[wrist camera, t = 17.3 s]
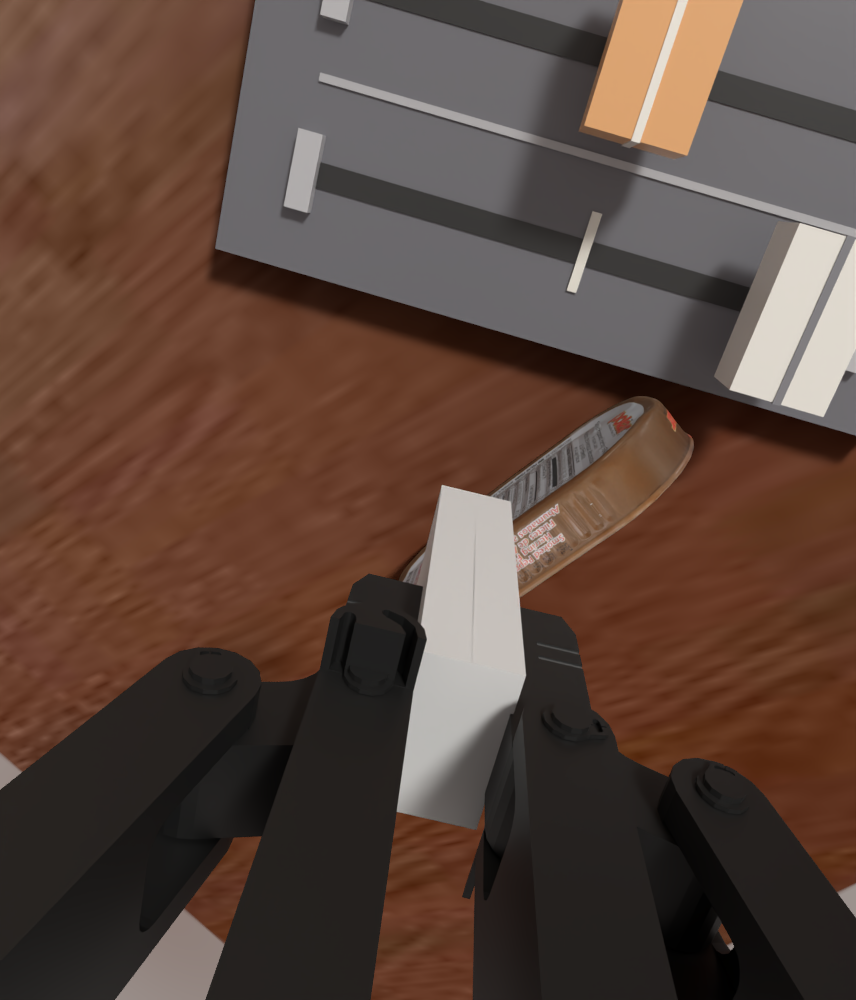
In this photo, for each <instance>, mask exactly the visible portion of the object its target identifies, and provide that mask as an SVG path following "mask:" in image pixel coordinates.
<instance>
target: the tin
mask: <svg viewBox="0 0 856 1000" xmlns="http://www.w3.org/2000/svg"><path fill="white" fill-rule="evenodd" d="M693 449H694V441H693V439H692V437H691V436H690V435H689V434H687V433H685V432H684V431H683V430H682V429H681V427H680V426H679V425H678V424H677V422H676V421H675V420H674V418H673V417H672V416H671V414H670V413H669V412H668V410H667V409H666V408H665V407H664V405H663V404H662V403H661V402H660V401H658V400H657V399H654V398H650V397H646V396H636V397H633V398H630V399H627V400H625V401H622V402H620V403H618V404H616V405H614V406H612V407H610V408H608V409H607V410H605V411H603V412H601V413H600V414H598V415H596V416H595V417H593V418H592V419H590V420H589V421H587V422H586V423H584V424H583V425H582V426H580V427H579V428H577V429H576V430H575V431H573V432H572V433H571V434H569V435H568V436H567V437H565V438H564V439H563V440H561V441H560V442H559V443H557V444H556V445H554V446H553V447H552V448H550V449H549V450H547V451H546V452H545V453H543V454H542V455H541V456H539V457H538V458H537V459H535V460H534V461H532V462H531V463H530V464H528V465H527V466H526V467H524V468H523V469H521V470H520V471H519V472H517V473H516V474H515V475H513V476H512V477H511V478H509V479H508V480H507V481H505V482H504V483H503V484H501V485H500V486H499V487H498V488H496V489H495V490H494V491H492V492H491V493H490V494H488V495H487V496H490V497H494V498H498V499H502V500H506V501H511V509H512V521H513V532H514V544H515V555H516V567H517V578H518V590H519V598H520V597H522V596H523V595H525V594H526V593H528V592H529V591H531V590H532V589H534V588H535V587H536V586H538V585H539V584H540V583H542V582H543V581H545V580H546V579H548V578H549V577H551V576H552V575H554V574H555V573H557V572H558V571H560V570H561V569H563V568H564V567H565V566H567V565H568V564H570V563H571V562H573V561H574V560H576V559H577V558H579V557H580V556H582V555H583V554H585V553H586V552H587V551H589V550H590V549H591V548H593V547H594V546H596V545H597V544H599V543H601V542H602V541H603V540H605V539H606V538H608V537H610V536H611V535H612V534H614V533H615V532H617V531H618V530H619V529H621V528H622V527H624V526H625V525H627V524H628V523H629V522H631V521H632V520H633V519H635V518H636V517H637V516H638V515H639V514H641V513H642V512H643V511H644V510H645V509H646V508H647V507H649V506H650V505H651V504H652V503H653V502H654V501H656V500H657V499H658V498H659V497H660V496H661V495H662V493H663V492H664V491H665V490H666V489H667V488H668V487H669V486H670V485H671V484H672V483H673V482H674V481H675V480H676V478H677V477H678V476H679V475H680V473H681V472H682V471H683V469H684V468H685V466H686V465H687V463H688V461H689V460H690V458H691V456H692V452H693ZM426 546H427V545H426ZM426 546H425V547H424V548H423V549H422V550H421V551H420V552H419V553H418V554H417V555H416V556H415V557H414V559H413V560H412V561H411V562H410V563H409V564H408V565H407V567H406V568H405V569H404V571H403V572H402V574H401V576H400V578H399V580H398V581H402V582H406V583H410V584H415V585H417V582H418V578H419V574H420V570H421V566H422V562H423V558H424V554H425V550H426Z"/></svg>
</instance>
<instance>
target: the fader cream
mask: <svg viewBox="0 0 856 1000" xmlns="http://www.w3.org/2000/svg"><path fill="white" fill-rule="evenodd" d="M855 350H856V237H853V236H849V235H842V234H836V233H833V232H829V231H826V230H823V229H819V228H816V227H812V226H809V225H806V224H802V223H795V222H780V221H778V222H777V225H776V227H775V230H774V232H773V234H772V237H771V239H770V242H769V244H768V246H767V249H766V251H765V254H764V256H763V259H762V261H761V263H760V266H759V268H758V271H757V273H756V276H755V278H754V280H753V283H752V285H751V288H750V290H749V293H748V295H747V297H746V300H745V302H744V305H743V307H742V310H741V312H740V314H739V317H738V319H737V322H736V324H735V326H734V329H733V331H732V334H731V336H730V339H729V341H728V343H727V346H726V348H725V351H724V353H723V356H722V358H721V360H720V363H719V365H718V368H717V370H716V373H715V375H714V377H715V378H716V379H717V380H719V381H720V382H721V383H722V384H723V385H724V386H726V387H727V388H728V389H729V390H732V391H735V392H739V393H742V394H746V395H749V396H752V397H756V398H759V399H763V400H766V401H769V402H770V403H772V404H774V405H778V406H780V405H783V406H787V407H790V408H794V409H797V410H800V411H804V412H807V413H811V414H814V415H818V416H821V417H824V415H825V413H826V411H827V409H828V406H829V404H830V402H831V400H832V398H833V396H834V394H835V392H836V390H837V387H838V385H839V383H840V381H841V379H842V377H843V375H844V373H845V371H846V369H847V366H848V364H849V362H850V360H851V358H852V356H853V354H854V352H855Z"/></svg>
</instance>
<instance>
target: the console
mask: <svg viewBox="0 0 856 1000" xmlns="http://www.w3.org/2000/svg"><path fill="white" fill-rule="evenodd" d="M618 3H619V0H255V6H254V12H253V18H252V24H251V31H250V37H249V43H248V49H247V55H246V61H245V68H244V74H243V80H242V86H241V92H240V98H239V104H238V111H237V117H236V123H235V129H234V135H233V141H232V148H231V154H230V160H229V166H228V172H227V178H226V185H225V191H224V197H223V203H222V209H221V215H220V222H219V228H218V234H217V240H216V246H215V249H218V250H222V251H225V252H228V253H232V254H235V255H239V256H242V257H246V258H249V259H252V260H256V261H259V262H263V263H266V264H270V265H273V266H276V267H280V268H283V269H287V270H290V271H294V272H297V273H300V274H304V275H307V276H311V277H314V278H318V279H321V280H324V281H328V282H331V283H335V284H338V285H342V286H345V287H348V288H352V289H355V290H359V291H362V292H366V293H369V294H372V295H376V296H379V297H383V298H386V299H390V300H393V301H396V302H400V303H403V304H407V305H410V306H414V307H417V308H420V309H424V310H427V311H431V312H434V313H438V314H441V315H444V316H448V317H451V318H455V319H458V320H462V321H465V322H468V323H472V324H475V325H479V326H482V327H486V328H489V329H492V330H496V331H499V332H503V333H506V334H510V335H513V336H516V337H520V338H523V339H527V340H530V341H534V342H537V343H540V344H544V345H547V346H551V347H554V348H558V349H561V350H564V351H568V352H571V353H575V354H578V355H581V356H585V357H588V358H592V359H595V360H599V361H602V362H605V363H609V364H612V365H616V366H619V367H623V368H626V369H629V370H633V371H636V372H640V373H643V374H647V375H650V376H653V377H657V378H660V379H664V380H667V381H671V382H674V383H677V384H681V385H684V386H688V387H691V388H695V389H698V390H701V391H705V392H708V393H712V394H715V395H719V396H722V397H725V398H729V399H732V400H736V401H739V402H743V403H746V404H749V405H753V406H756V407H760V408H763V409H767V410H770V411H773V412H777V413H780V414H784V415H787V416H791V417H794V418H797V419H801V420H804V421H808V422H811V423H815V424H818V425H821V426H825V427H828V428H832V429H835V430H839V431H842V432H845V433H849V434H852V435H856V350H855V352H854V354H853V356H852V358H851V360H850V362H849V364H848V366H847V369H846V371H845V373H844V375H843V377H842V379H841V381H840V383H839V385H838V387H837V390H836V392H835V394H834V396H833V398H832V400H831V402H830V404H829V406H828V409H827V411H826V413H825V415H824V417H821V416H818V415H814V414H811V413H807V412H804V411H800V410H797V409H794V408H790V407H787V406H783V405H780V406H778V405H774V404H772V403H770V402H769V401H766V400H763V399H759V398H756V397H752V396H749V395H746V394H742V393H739V392H735V391H732V390H729V389H728V388H727V387H726V386H724V385H723V384H722V383H721V382H720V381H719V380H717V379H716V378H715V377H714V375H715V373H716V370H717V368H718V365H719V363H720V360H721V358H722V356H723V353H724V351H725V348H726V346H727V343H728V341H729V339H730V336H731V334H732V331H733V329H734V326H735V324H736V322H737V319H738V317H739V314H740V312H741V310H742V307H743V305H744V302H745V300H746V297H747V295H748V293H749V290H750V288H751V285H752V283H753V280H754V278H755V276H756V273H757V271H758V268H759V266H760V263H761V261H762V259H763V256H764V254H765V251H766V249H767V246H768V244H769V242H770V239H771V237H772V234H773V232H774V230H775V227H776V225H777V222H778V221H780V222H795V223H802V224H806V225H809V226H812V227H816V228H819V229H823V230H826V231H829V232H833V233H836V234H842V235H849V236H853V237H856V0H743V3H742V6H741V8H740V11H739V14H738V17H737V19H736V22H735V25H734V28H733V30H732V33H731V36H730V39H729V42H728V44H727V47H726V50H725V53H724V55H723V58H722V61H721V64H720V66H719V69H718V72H717V75H716V78H715V80H714V83H713V86H712V89H711V91H710V94H709V97H708V100H707V102H706V105H705V108H704V111H703V113H702V116H701V119H700V122H699V125H698V127H697V130H696V133H695V136H694V138H693V141H692V144H691V147H690V149H689V152H688V155H687V156H684V157H680V158H677V159H671V158H667V157H664V156H661V155H657V154H654V153H650V152H647V151H643V150H640V149H637V148H633V147H631V148H627V147H624V146H622V144H620V143H616V142H613V141H609V140H606V139H602V138H599V137H596V136H592V135H589V134H585V133H582V132H579V128H580V125H581V122H582V119H583V116H584V112H585V109H586V106H587V103H588V99H589V96H590V93H591V90H592V87H593V83H594V80H595V77H596V74H597V70H598V67H599V64H600V61H601V58H602V54H603V51H604V48H605V45H606V42H607V38H608V35H609V32H610V29H611V25H612V22H613V19H614V16H615V13H616V9H617V6H618Z"/></svg>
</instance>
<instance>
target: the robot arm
mask: <svg viewBox="0 0 856 1000" xmlns="http://www.w3.org/2000/svg"><path fill="white" fill-rule="evenodd" d="M581 668H582V663H581V658H580V655H579V649H578V644H577V639H576V635H575V633H574V632H573V631H572V630H571V628H570V627H569V626H568V625H567V624H566V622H565V621H564V620H563V619H562V617H559V616H555V615H550V614H546V613H542V612H538V611H533V610H529V609H525V608H521V607H520V601H519V590H518V578H517V567H516V555H515V544H514V532H513V521H512V509H511V501H506V500H502V499H498V498H494V497H490V496H485V495H481V494H477V493H473V492H469V491H465V490H460V489H456V488H452V487H448V486H444V485H442V487H441V491H440V495H439V499H438V503H437V507H436V511H435V515H434V519H433V523H432V527H431V531H430V535H429V539H428V543H427V546H426V550H425V554H424V558H423V562H422V566H421V570H420V574H419V578H418V582H417V585H415V584H410V583H406V582H402V581H398V580H393V579H389V578H385V577H381V576H377V575H372V574H368V575H366V576H365V577H363V578H362V579H360V580H359V581H357V582H356V583H354V584H353V586H352V589H351V592H350V595H349V598H348V601H347V604H346V606H343V607H341V608H338V609H337V610H336V611H335V613H334V614H333V615H332V616H331V619H330V623H329V628H328V633H327V638H326V642H325V647H324V652H323V657H322V661H321V666H320V670H319V671H318V672H317V673H315V674H313V675H311V676H309V677H307V678H304V679H300V680H295V681H288V682H261V678H260V672H259V670H258V669H257V668H256V667H255V666H254V664H253V663H252V662H251V661H250V660H248V659H246V658H244V657H243V656H241V655H239V654H237V653H235V652H231V651H227V650H223V649H219V648H193V649H188V650H183V651H179V652H178V653H176V654H174V655H172V656H170V657H168V658H166V659H165V660H163V661H162V662H161V663H160V664H158V665H157V666H156V667H155V668H153V669H152V670H151V671H149V672H148V673H147V674H146V675H144V676H143V677H142V678H141V679H139V680H138V681H137V682H136V683H134V684H133V685H132V686H131V687H129V688H128V689H127V690H126V691H124V692H123V693H122V694H120V695H119V696H118V697H117V698H115V699H114V700H113V701H112V702H110V703H109V704H108V705H107V706H105V707H104V708H103V709H102V710H100V711H99V712H98V713H97V714H95V715H94V716H93V717H91V718H90V719H89V720H88V721H86V722H85V723H84V724H83V725H81V726H80V727H79V728H78V729H76V730H75V731H74V732H73V733H71V734H70V735H69V736H68V737H66V738H65V739H64V740H62V741H61V742H60V743H59V744H57V745H56V746H55V747H54V748H52V749H51V750H50V751H49V752H47V753H46V754H45V755H44V756H42V757H41V758H40V759H39V760H37V761H36V762H35V763H33V764H32V765H31V766H30V767H28V768H27V769H26V770H25V771H23V772H22V773H21V774H20V775H18V776H17V777H16V778H15V779H13V780H12V781H11V782H10V783H8V784H7V785H6V786H4V787H3V788H2V789H1V790H0V1000H115V999H116V998H117V996H118V995H119V993H120V992H121V991H122V990H123V988H124V987H125V986H126V984H127V983H128V982H129V980H130V979H131V978H132V976H133V975H134V974H135V972H136V971H137V970H138V968H139V967H140V966H141V965H142V963H143V962H144V961H145V959H146V958H147V957H148V955H149V954H150V953H151V951H152V950H153V949H154V947H155V946H156V945H157V943H158V942H159V941H160V939H161V938H162V937H163V935H164V934H165V933H166V932H167V930H168V929H169V928H170V926H171V925H172V923H173V922H174V921H175V920H176V918H177V917H178V916H179V914H180V913H181V912H182V910H183V909H184V908H185V906H186V905H187V904H188V902H189V901H190V900H191V898H192V897H193V896H194V894H195V893H196V892H197V891H198V889H199V888H200V887H201V885H202V884H203V883H204V881H205V880H206V879H207V877H208V876H209V875H210V873H211V872H212V871H213V869H214V868H215V867H216V865H217V864H218V863H219V861H220V860H221V859H222V857H223V856H224V855H225V853H226V852H227V851H228V849H229V847H230V844H231V842H232V840H233V838H234V837H253V836H262V838H261V841H260V843H259V846H258V849H257V852H256V855H255V858H254V861H253V864H252V867H251V869H250V872H249V875H248V878H247V881H246V884H245V887H244V890H243V893H242V896H241V898H240V901H239V904H238V907H237V910H236V913H235V916H234V919H233V922H232V924H231V927H230V930H229V933H228V936H227V939H226V942H225V945H224V948H223V951H222V954H221V956H220V959H219V962H218V965H217V968H216V971H215V974H214V977H213V979H212V982H211V985H210V988H209V991H208V994H207V997H206V1000H370V999H371V992H372V985H373V978H374V970H375V963H376V956H377V949H378V942H379V935H380V927H381V920H382V913H383V906H384V899H385V892H386V884H387V877H388V870H389V863H390V856H391V849H392V842H393V834H394V827H395V820H396V813H397V812H401V813H405V814H410V815H414V816H418V817H423V818H427V819H431V820H436V821H440V822H444V823H449V824H453V825H457V826H462V827H466V828H470V829H475V830H476V829H477V826H478V823H479V819H480V816H481V813H482V810H483V807H484V804H485V828H484V831H483V834H482V837H481V840H480V843H479V846H478V849H477V852H476V855H475V858H474V861H473V864H472V867H471V870H470V873H469V876H468V879H467V882H466V886H465V889H464V893H463V896H462V897H464V898H468V899H470V897H471V894H472V891H473V888H474V886H475V905H474V962H473V1000H856V918H855V916H854V915H853V914H852V912H851V911H850V910H849V908H848V907H847V906H846V904H845V903H844V901H843V900H842V899H841V898H840V896H839V895H838V893H837V892H836V891H835V889H834V888H833V887H832V885H831V884H830V883H829V881H828V880H827V879H826V877H825V876H824V875H823V873H822V872H821V871H820V869H819V868H818V866H817V865H816V864H815V862H814V861H813V860H812V858H811V857H810V856H809V854H808V853H807V852H806V850H805V849H804V848H803V846H802V845H801V844H800V842H799V841H798V840H797V838H796V837H795V836H794V834H793V833H792V832H791V830H790V829H789V828H788V826H787V825H786V824H785V822H784V821H783V819H782V818H781V817H780V815H779V814H778V813H777V811H776V810H775V809H774V807H773V806H772V805H771V803H770V802H769V801H768V799H767V798H766V797H765V795H764V794H763V793H762V792H761V791H760V790H759V789H758V788H757V787H756V786H755V785H754V784H753V783H752V782H751V781H749V780H748V779H746V778H745V777H744V776H742V775H741V774H739V773H738V772H737V771H735V770H734V769H732V768H730V767H728V766H724V765H723V764H720V763H717V762H714V761H709V760H705V759H700V758H692V759H683V760H681V761H680V762H678V763H677V764H675V765H674V766H673V768H672V770H671V773H670V775H669V777H667V776H665V775H663V774H660V773H658V772H656V771H654V770H651V769H649V768H647V767H645V766H643V765H640V764H638V763H637V762H635V761H633V760H631V759H629V758H627V757H625V756H624V755H623V754H621V753H620V752H618V747H617V743H616V739H615V736H614V734H613V732H612V730H611V728H610V726H609V724H608V723H607V722H606V721H605V720H604V719H603V718H602V717H601V716H600V715H599V714H598V713H596V712H595V711H593V710H591V706H590V701H589V696H588V692H587V687H586V682H585V677H584V673H583V669H581ZM721 923H722V924H723V926H724V927H725V929H726V931H727V933H728V935H729V936H730V938H731V940H732V942H733V945H734V948H733V949H732V950H731V951H730V949H729V948H728V947H727V945H726V944H725V942H724V941H723V939H722V937H721V935H720V933H719V932H718V929H719V927H720V925H721Z"/></svg>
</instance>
